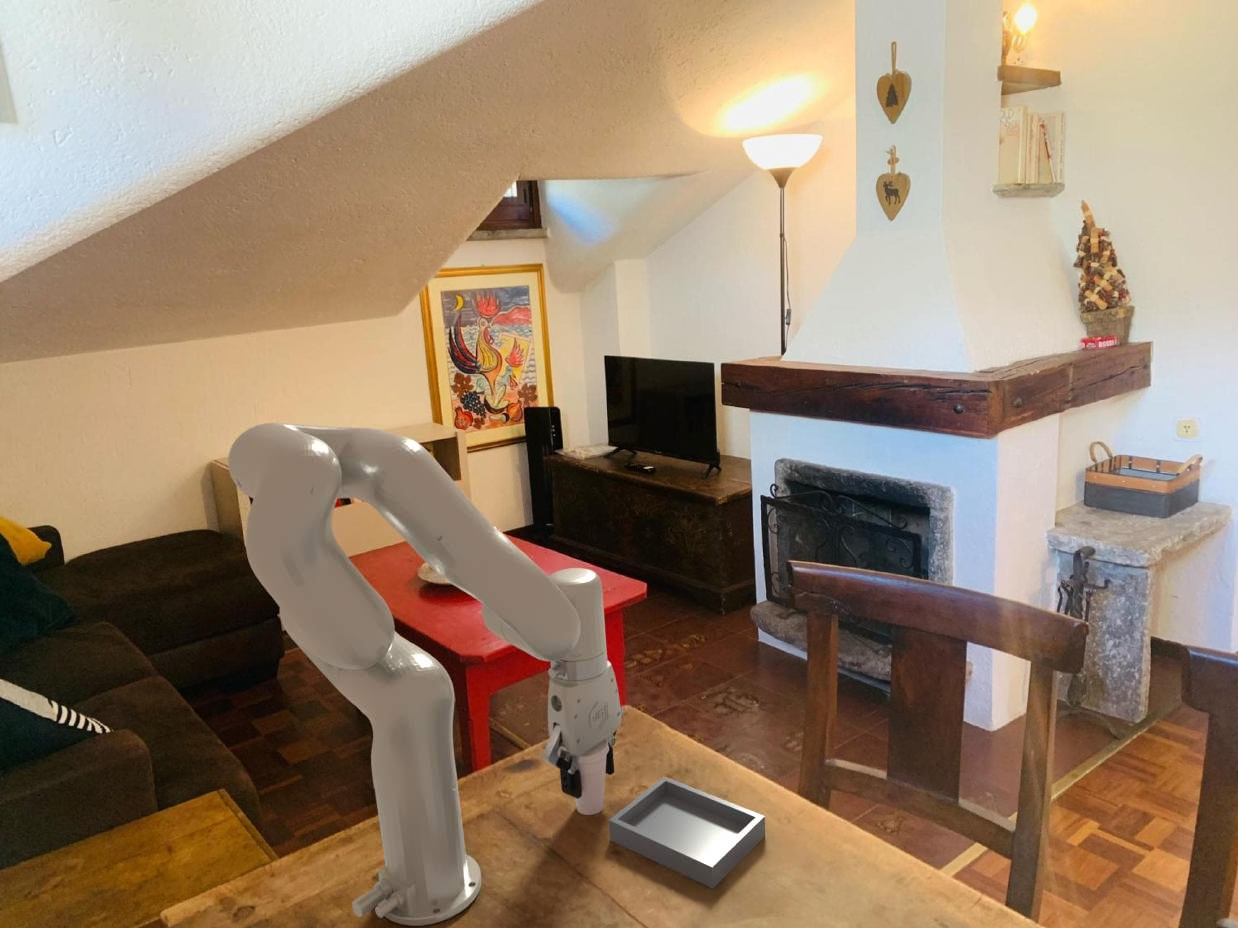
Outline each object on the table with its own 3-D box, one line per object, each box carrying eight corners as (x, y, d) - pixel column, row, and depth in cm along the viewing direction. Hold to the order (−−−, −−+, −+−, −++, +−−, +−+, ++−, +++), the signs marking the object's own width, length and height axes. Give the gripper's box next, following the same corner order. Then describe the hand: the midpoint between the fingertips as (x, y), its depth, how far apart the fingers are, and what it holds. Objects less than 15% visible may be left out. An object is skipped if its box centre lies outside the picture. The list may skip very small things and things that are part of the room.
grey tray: (713, 888, 110) (712, 866, 110) (610, 840, 120) (608, 819, 120) (765, 836, 119) (764, 815, 119) (665, 795, 129) (664, 776, 129)
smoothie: (615, 792, 131) (608, 702, 127) (610, 821, 124) (603, 727, 121) (570, 792, 131) (562, 703, 128) (563, 820, 125) (555, 727, 122)
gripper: (554, 695, 114) (565, 824, 118) (641, 644, 127) (648, 761, 131) (512, 680, 119) (524, 804, 123) (600, 632, 131) (608, 746, 136)
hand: (588, 781), depth 127 cm, fingers closed on smoothie, 6 cm apart
